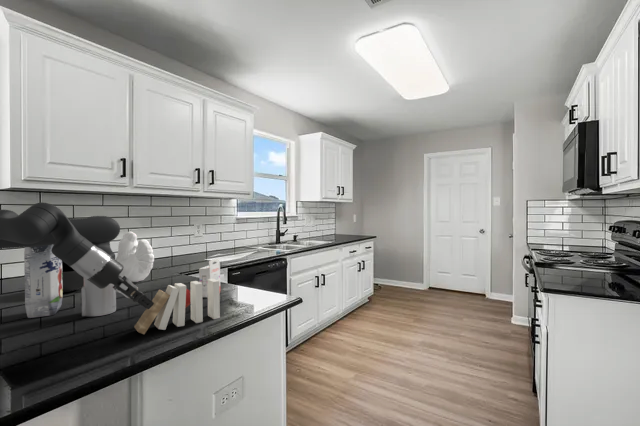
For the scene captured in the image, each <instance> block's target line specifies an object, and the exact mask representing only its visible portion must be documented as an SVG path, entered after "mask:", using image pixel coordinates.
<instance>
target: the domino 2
mask: <svg viewBox="0 0 640 426" xmlns="http://www.w3.org/2000/svg"><path fill="white" fill-rule="evenodd" d="M173 286H175V287H177V288H178V289H179V292H178V295H177V298H176V301H175V304H174V306H173V309H172V323H173V324H174V325H175V327H177V328H178V327H184V326H185V324H186V323H185V322H186V319H185V318H186V308H185V305H186V288H187V285H186V284H184V283H182V282H176V283H174V285H173Z"/></svg>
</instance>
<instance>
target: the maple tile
mask: <svg viewBox="0 0 640 426" xmlns="http://www.w3.org/2000/svg"><path fill="white" fill-rule="evenodd" d="M165 292H166V291H163V290H161V289H158V291H157V292H156V294H155V296H154V297H153V298H152V300H151V301H153V302H154V304H153V306H152V307H151V308H150V309H146V308H145V310H144V311H143V313H142V314H141V316H140V318H139V319H138V321H136V323H135V324H134V329H135V330H136V331H137V332H138V333H139V334H141V335H145V334H146V333H147V331H148V330H149V329H150V327H151V325H152V324H153V322H155V320H156V317H157V315H158V313H159V311H160V310H161V308H162V307H163V305H164V304H165V302H166V301H167V299H168V298H169V296H170V295H168V294H167V293H165Z"/></svg>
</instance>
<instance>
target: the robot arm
mask: <svg viewBox="0 0 640 426" xmlns="http://www.w3.org/2000/svg"><path fill="white" fill-rule="evenodd" d="M120 226H121V225H120V224H119V222H118V221H117V220H116V219H115V218H112V217H111V216H107V215H106V216H105V215H93V216H89V217H86V218H85V217H84V218H68V217H67V215H66V214H65V213H64V212H63V211H62V210H61V209H60V208H59V207H57V206H56V205H54V204H51V203H50V202H49V203H48V202H43V201H41V202H36V203H34V204H33V205H31V206H30V207H28V208H26V210H24V211H23V212H21V213H20V214H18V213H16V212H15V211H13V210H11V209H10V210H9V209H0V249H16V248H17V249H18V248H25V247H35V246H45V245H54V246H53V247H52V253H53V254H54V255H55V256H56V257H57V258H59V259H60V260H62V261H63V262H64V263H66V264H67V265H69V266H70V267H72V268H73V269H74V270H75V271H76V272H77V273H78V274H80V275H81V276H83V277H84V286H82V287H81V294H80V295H81V317H100V316H105V315H109V314H112V313H115V312H116V311H117V293H118V294H119V293H120V294H121V295H122V296H124V297H125V298H127V299H131V300H132V302H134V303H138V304H139V305H141V306H142V307H144V308H145V310H146V309H150V308H151V307H152V306H153V304H154V302H153V301H152V300H151V298H148V297H147V295H146V294H144V292H142V291H141V290H139V287H138V286H137V285H135V284H134V282H131V281H130V280H129V279H128V278H127V277H125V276H123V277H121V276H120V275H119V274H120V273H121V272H122V270H123V268H124V267H123V265H122V264H120V263H119V262H118V261H117V260H116V254H115V252H114V251H113V250H112V248H111V243H110V242H112V241H114V240H115V239H117V237H118V236H119V235H120V232H121V227H120Z"/></svg>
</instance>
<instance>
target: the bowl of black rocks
mask: <svg viewBox="0 0 640 426" xmlns="http://www.w3.org/2000/svg"><path fill="white" fill-rule="evenodd" d="M82 287H84V277H83V276H81V275H80V274H78V273H77V272H76V271H75V270H74V269H73V268H72V267H70V266H69V265H67V264H66V263H64V262H63V261H62V289H63V293H70V292H74V291H76V290H79V289H80V288H81V289H82Z"/></svg>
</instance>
